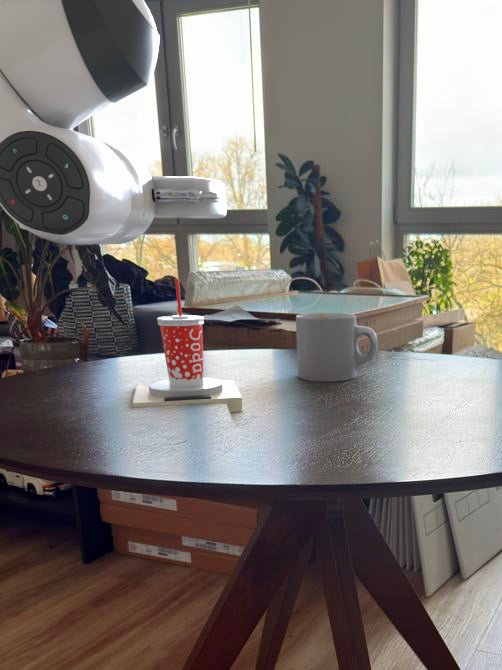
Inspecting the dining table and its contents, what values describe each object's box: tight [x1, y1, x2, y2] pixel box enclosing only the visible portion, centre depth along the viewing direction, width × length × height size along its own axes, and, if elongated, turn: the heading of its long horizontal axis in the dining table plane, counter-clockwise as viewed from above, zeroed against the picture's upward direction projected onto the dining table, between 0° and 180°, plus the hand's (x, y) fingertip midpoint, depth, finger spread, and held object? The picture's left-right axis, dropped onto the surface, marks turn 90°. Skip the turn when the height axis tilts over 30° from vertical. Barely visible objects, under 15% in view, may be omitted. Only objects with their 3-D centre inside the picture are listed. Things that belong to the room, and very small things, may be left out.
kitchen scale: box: [132, 377, 244, 413], centre depth 101 cm, size 14×13×3 cm
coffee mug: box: [295, 312, 379, 383], centre depth 121 cm, size 13×10×10 cm
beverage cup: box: [156, 277, 205, 387], centre depth 98 cm, size 6×6×14 cm
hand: (143, 201), depth 81 cm, fingers open, 8 cm apart
